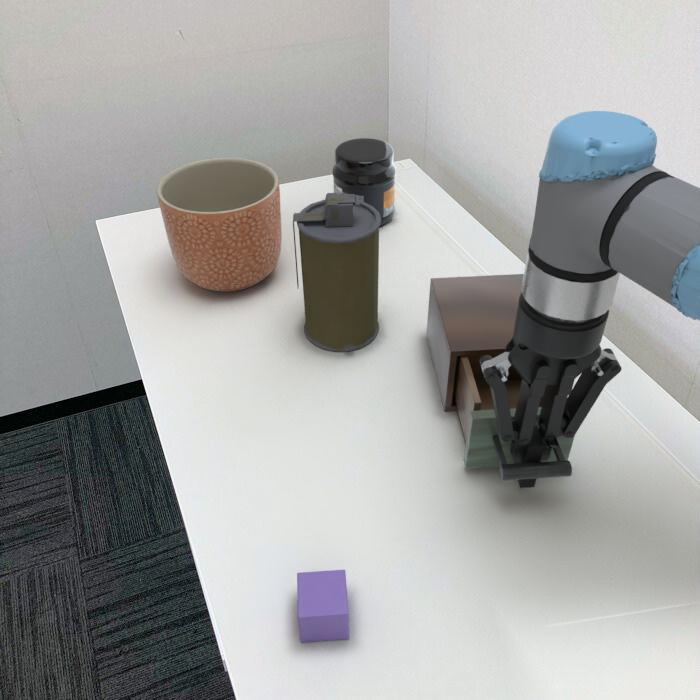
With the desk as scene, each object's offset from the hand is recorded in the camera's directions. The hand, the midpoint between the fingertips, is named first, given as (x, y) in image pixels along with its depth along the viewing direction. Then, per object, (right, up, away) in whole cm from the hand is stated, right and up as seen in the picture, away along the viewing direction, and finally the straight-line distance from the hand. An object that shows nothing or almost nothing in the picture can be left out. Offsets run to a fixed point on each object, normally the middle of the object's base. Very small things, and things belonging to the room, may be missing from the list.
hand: (524, 477), depth 75 cm
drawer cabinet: (-1, +11, +16) cm, 20 cm away
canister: (-20, +17, +23) cm, 35 cm away
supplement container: (-16, +37, +47) cm, 62 cm away
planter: (-37, +25, +34) cm, 56 cm away
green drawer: (0, +3, +6) cm, 7 cm away
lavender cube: (-21, -11, -10) cm, 26 cm away
